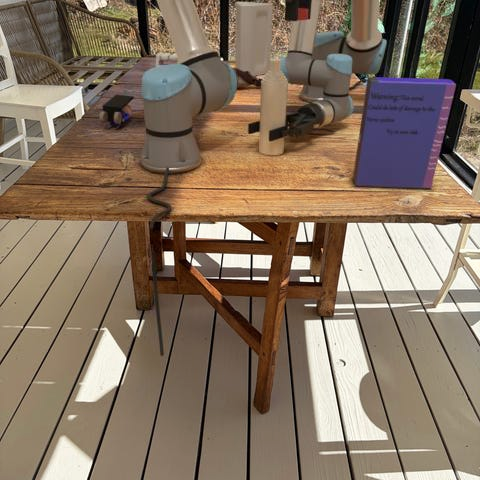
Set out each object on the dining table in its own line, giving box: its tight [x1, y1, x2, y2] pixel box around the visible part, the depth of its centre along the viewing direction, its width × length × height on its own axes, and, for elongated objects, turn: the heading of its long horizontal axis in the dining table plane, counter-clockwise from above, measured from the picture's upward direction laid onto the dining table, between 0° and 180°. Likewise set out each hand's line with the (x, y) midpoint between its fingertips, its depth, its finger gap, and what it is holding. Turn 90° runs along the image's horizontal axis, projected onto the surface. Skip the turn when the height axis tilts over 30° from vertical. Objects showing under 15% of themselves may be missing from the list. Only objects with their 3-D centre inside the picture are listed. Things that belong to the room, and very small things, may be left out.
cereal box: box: [352, 76, 457, 190], centre depth 107 cm, size 17×5×24 cm, turn 86°
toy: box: [155, 51, 178, 67], centre depth 223 cm, size 24×25×7 cm
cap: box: [298, 8, 309, 20], centre depth 99 cm, size 4×4×2 cm
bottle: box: [258, 58, 289, 156], centre depth 126 cm, size 7×7×24 cm
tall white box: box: [234, 1, 274, 77], centre depth 210 cm, size 19×15×28 cm
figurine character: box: [98, 94, 135, 130], centre depth 148 cm, size 7×8×15 cm
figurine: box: [232, 67, 262, 89], centre depth 190 cm, size 24×8×30 cm
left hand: (297, 19), depth 99 cm, fingers closed on cap, 4 cm apart
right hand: (259, 132), depth 126 cm, fingers closed on bottle, 7 cm apart
